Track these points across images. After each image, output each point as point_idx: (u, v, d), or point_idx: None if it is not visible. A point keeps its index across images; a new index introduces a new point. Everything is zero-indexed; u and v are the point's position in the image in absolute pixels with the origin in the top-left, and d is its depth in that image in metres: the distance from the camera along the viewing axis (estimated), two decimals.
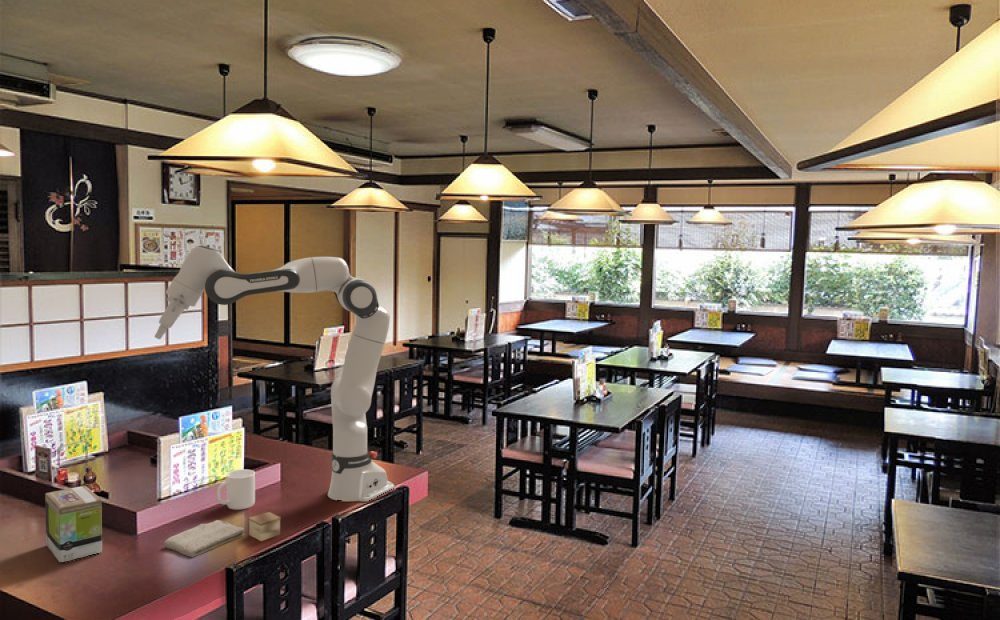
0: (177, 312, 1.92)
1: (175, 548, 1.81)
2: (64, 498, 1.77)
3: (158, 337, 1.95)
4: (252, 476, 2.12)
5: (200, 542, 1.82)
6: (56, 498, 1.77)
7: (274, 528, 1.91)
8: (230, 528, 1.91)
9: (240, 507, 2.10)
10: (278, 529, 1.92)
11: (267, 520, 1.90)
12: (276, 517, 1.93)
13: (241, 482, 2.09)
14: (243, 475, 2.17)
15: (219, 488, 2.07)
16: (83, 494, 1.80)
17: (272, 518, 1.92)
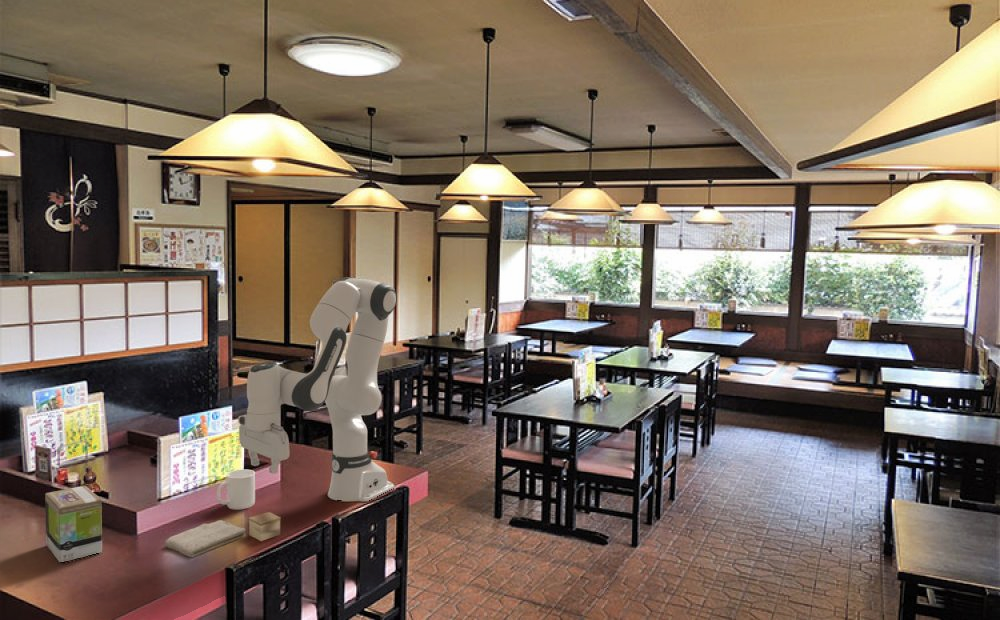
0: (287, 441, 1.85)
1: (175, 548, 1.81)
2: (64, 498, 1.77)
3: (275, 471, 1.88)
4: (252, 476, 2.12)
5: (200, 542, 1.82)
6: (56, 498, 1.77)
7: (274, 528, 1.91)
8: (232, 528, 1.91)
9: (240, 507, 2.10)
10: (278, 529, 1.92)
11: (267, 520, 1.90)
12: (276, 517, 1.93)
13: (241, 482, 2.09)
14: (243, 475, 2.17)
15: (219, 488, 2.07)
16: (83, 494, 1.80)
17: (272, 518, 1.92)
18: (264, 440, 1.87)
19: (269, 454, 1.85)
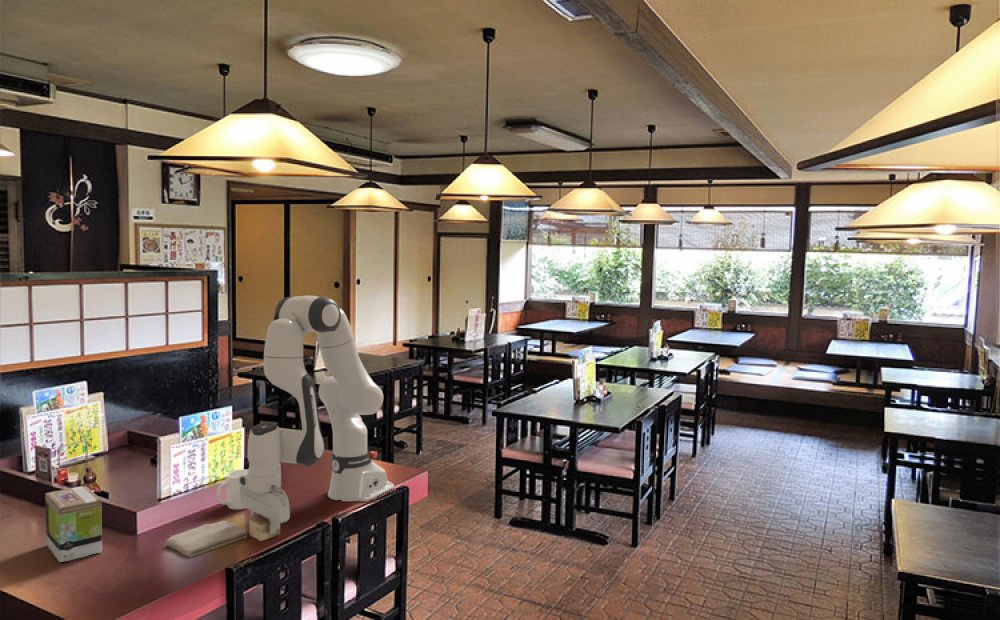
0: (287, 504, 1.86)
1: (175, 547, 1.81)
2: (64, 498, 1.77)
3: (274, 532, 1.90)
4: None
5: (199, 542, 1.82)
6: (56, 498, 1.77)
7: None
8: (233, 529, 1.90)
9: (240, 507, 2.10)
10: (278, 529, 1.92)
11: (267, 520, 1.90)
12: None
13: None
14: None
15: (219, 488, 2.07)
16: (83, 494, 1.80)
17: None
18: (265, 502, 1.89)
19: (269, 516, 1.87)
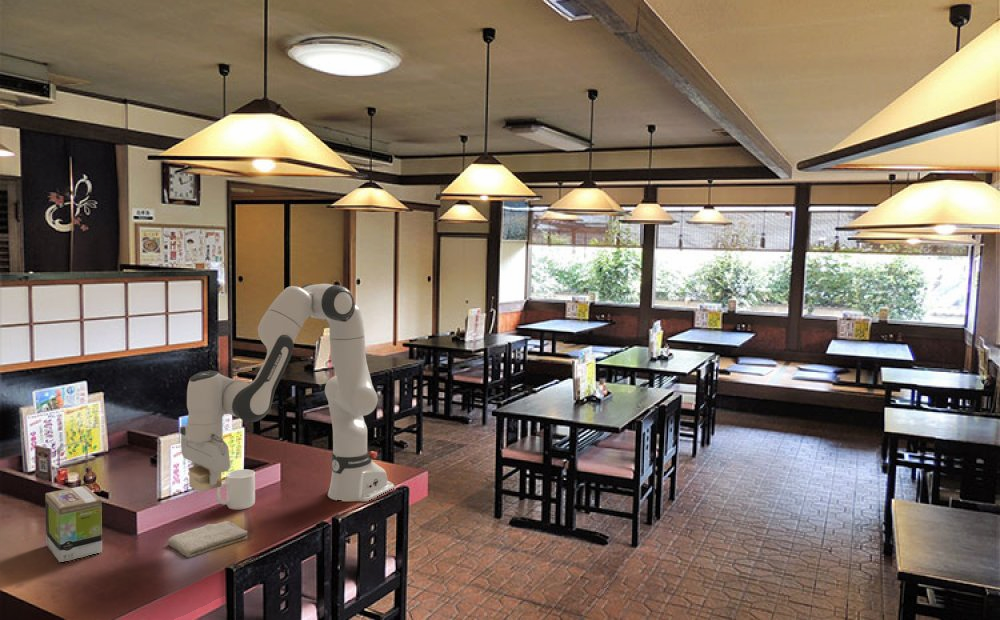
0: (227, 453, 1.80)
1: (175, 547, 1.82)
2: (64, 498, 1.77)
3: (214, 483, 1.83)
4: (252, 476, 2.12)
5: (198, 542, 1.81)
6: (56, 498, 1.77)
7: None
8: (234, 530, 1.90)
9: (240, 507, 2.10)
10: (219, 480, 1.86)
11: (207, 470, 1.84)
12: None
13: (241, 482, 2.09)
14: (243, 475, 2.17)
15: (219, 488, 2.07)
16: (83, 494, 1.80)
17: None
18: (204, 451, 1.82)
19: (209, 466, 1.81)
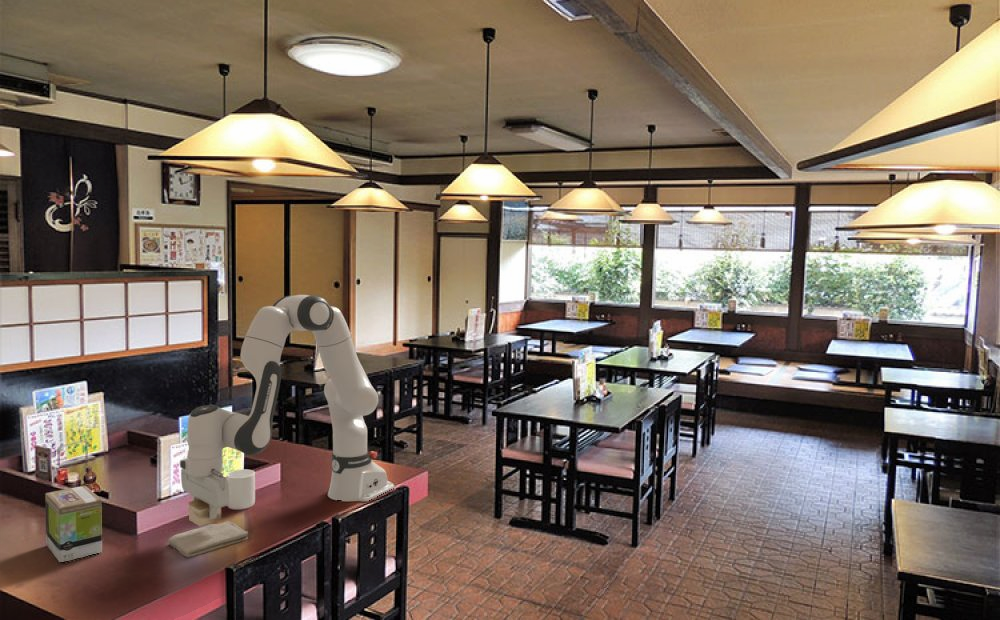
0: (227, 488, 1.81)
1: (176, 546, 1.82)
2: (64, 498, 1.77)
3: (214, 517, 1.84)
4: (252, 476, 2.12)
5: (198, 542, 1.81)
6: (56, 498, 1.77)
7: None
8: (234, 531, 1.89)
9: (240, 507, 2.10)
10: (219, 514, 1.87)
11: (207, 504, 1.85)
12: None
13: (241, 482, 2.09)
14: (243, 475, 2.17)
15: None
16: (83, 494, 1.80)
17: None
18: (204, 486, 1.83)
19: (209, 500, 1.81)
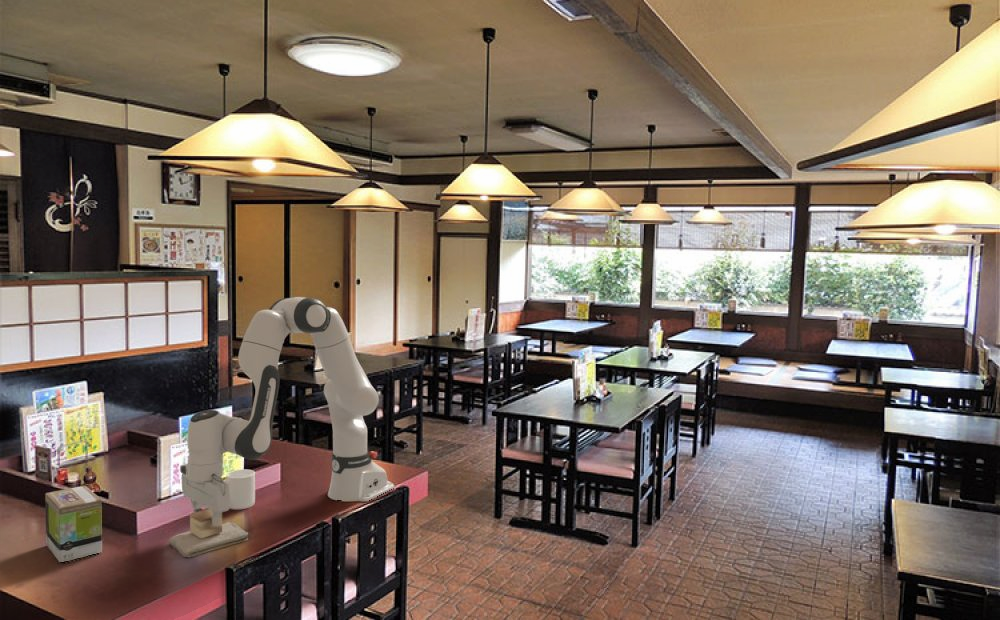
0: (228, 493, 1.81)
1: (176, 547, 1.82)
2: (64, 498, 1.77)
3: (216, 523, 1.84)
4: (252, 476, 2.12)
5: (198, 543, 1.81)
6: (56, 498, 1.77)
7: None
8: (235, 532, 1.89)
9: (240, 507, 2.10)
10: (220, 526, 1.87)
11: (208, 516, 1.85)
12: None
13: (241, 482, 2.09)
14: (243, 475, 2.17)
15: None
16: (83, 494, 1.80)
17: None
18: (205, 491, 1.83)
19: (209, 506, 1.82)
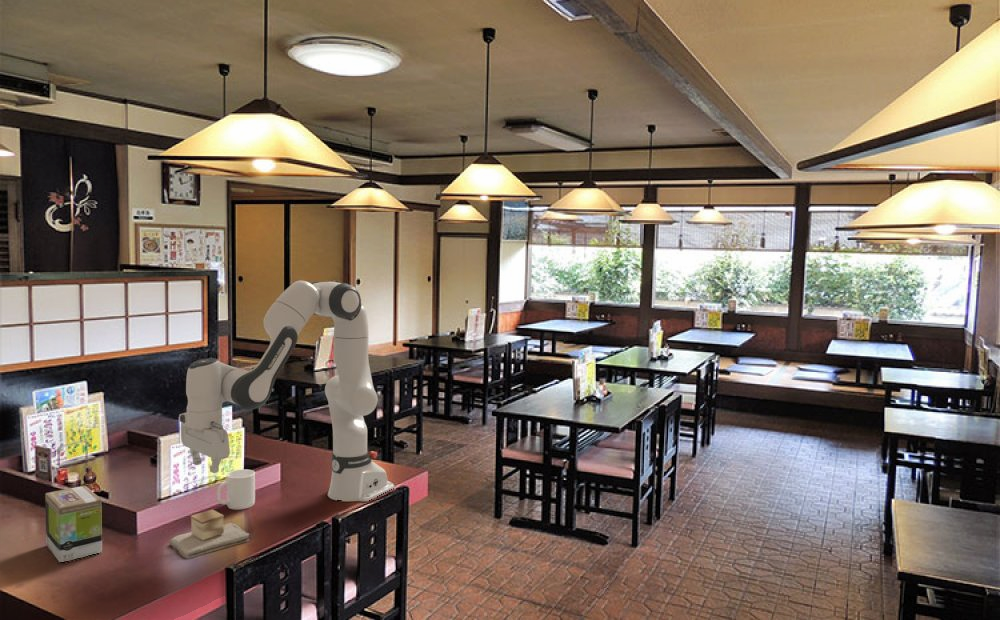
0: (227, 440, 1.80)
1: (176, 547, 1.82)
2: (64, 498, 1.77)
3: (216, 471, 1.82)
4: (252, 476, 2.12)
5: (198, 544, 1.81)
6: (56, 498, 1.77)
7: (216, 526, 1.85)
8: (236, 533, 1.89)
9: (240, 507, 2.10)
10: (221, 527, 1.87)
11: (209, 518, 1.84)
12: (219, 515, 1.87)
13: (242, 482, 2.09)
14: (243, 475, 2.17)
15: (219, 488, 2.07)
16: (83, 494, 1.80)
17: (215, 516, 1.86)
18: (204, 438, 1.82)
19: (209, 453, 1.80)
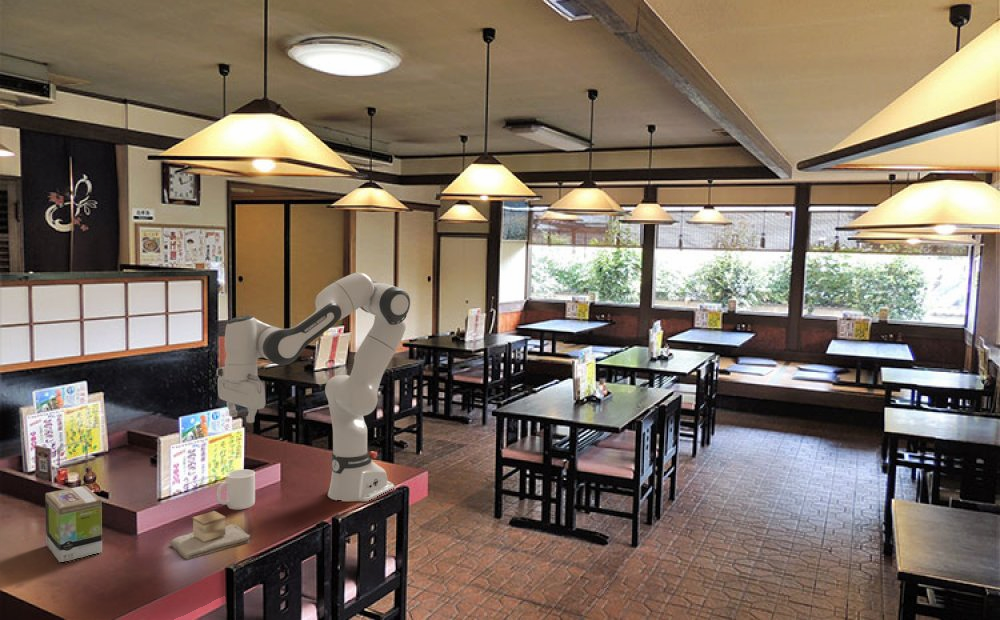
0: (263, 391, 1.91)
1: (177, 548, 1.81)
2: (64, 498, 1.77)
3: (252, 421, 1.94)
4: (252, 476, 2.12)
5: (199, 545, 1.81)
6: (56, 498, 1.77)
7: (218, 527, 1.85)
8: (237, 534, 1.88)
9: (240, 507, 2.10)
10: (223, 529, 1.86)
11: (211, 520, 1.84)
12: (221, 516, 1.86)
13: (241, 482, 2.09)
14: (243, 475, 2.17)
15: (219, 488, 2.07)
16: (83, 494, 1.80)
17: (217, 517, 1.85)
18: (241, 390, 1.94)
19: (246, 403, 1.92)
